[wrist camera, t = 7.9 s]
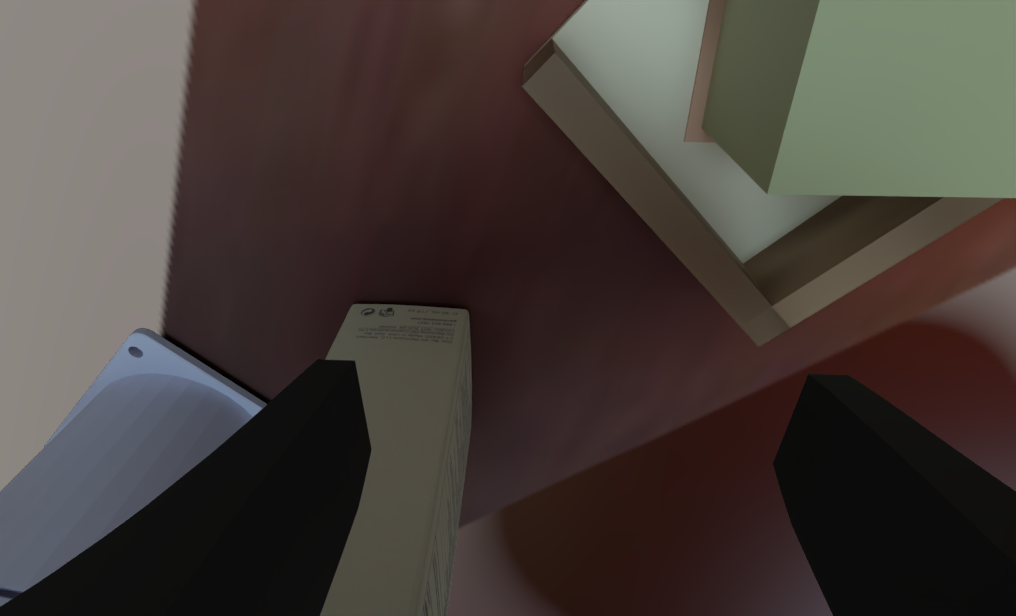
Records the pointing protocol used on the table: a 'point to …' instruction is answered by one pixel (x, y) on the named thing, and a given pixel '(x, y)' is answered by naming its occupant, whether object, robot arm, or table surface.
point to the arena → (714, 167)
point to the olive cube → (868, 96)
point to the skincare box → (406, 458)
